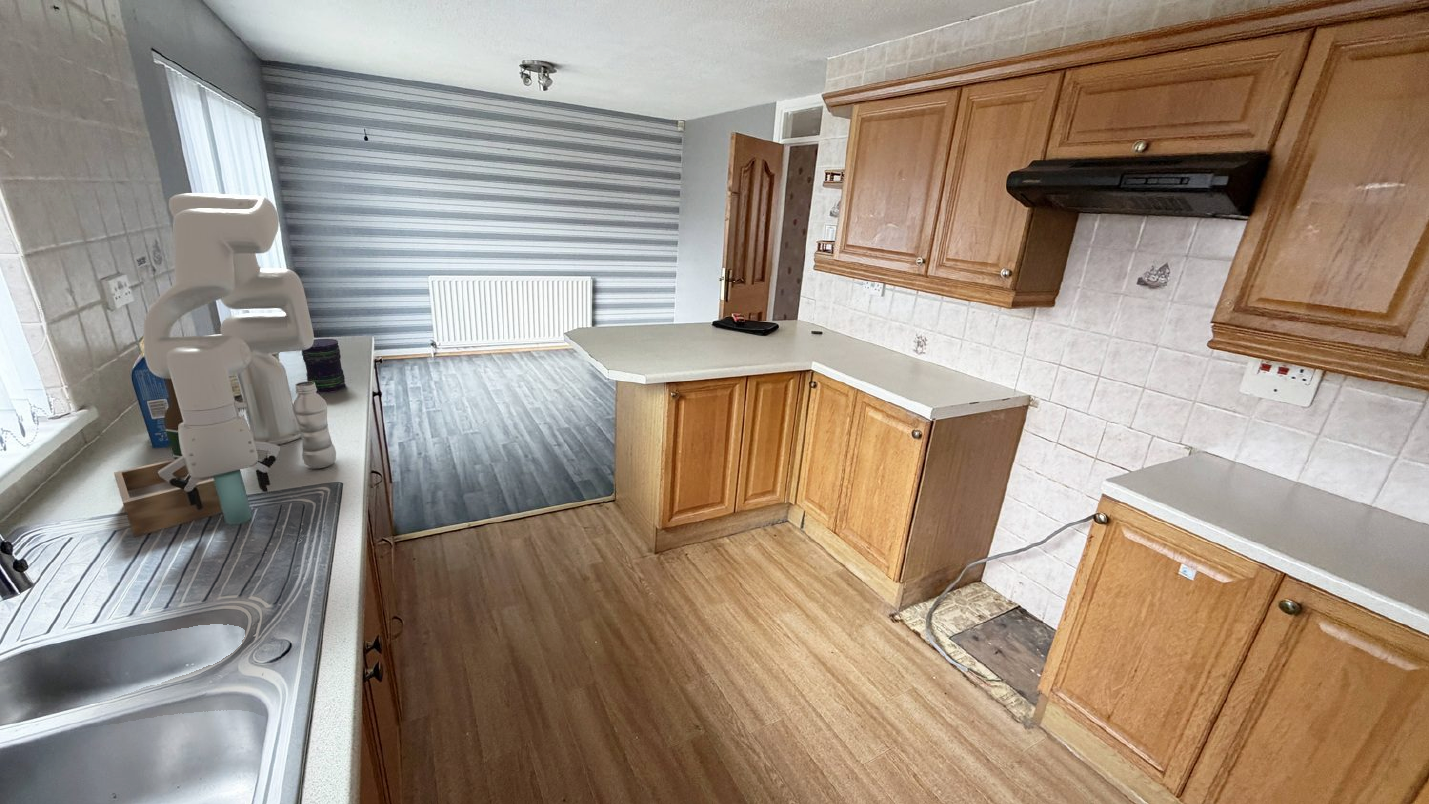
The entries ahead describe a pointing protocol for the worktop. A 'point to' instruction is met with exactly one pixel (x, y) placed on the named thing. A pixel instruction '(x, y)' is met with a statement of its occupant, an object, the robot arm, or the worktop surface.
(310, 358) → the storage jar
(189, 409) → the robot arm
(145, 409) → the blue food package
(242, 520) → the peg
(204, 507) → the box
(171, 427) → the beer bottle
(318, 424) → the plastic bottle
